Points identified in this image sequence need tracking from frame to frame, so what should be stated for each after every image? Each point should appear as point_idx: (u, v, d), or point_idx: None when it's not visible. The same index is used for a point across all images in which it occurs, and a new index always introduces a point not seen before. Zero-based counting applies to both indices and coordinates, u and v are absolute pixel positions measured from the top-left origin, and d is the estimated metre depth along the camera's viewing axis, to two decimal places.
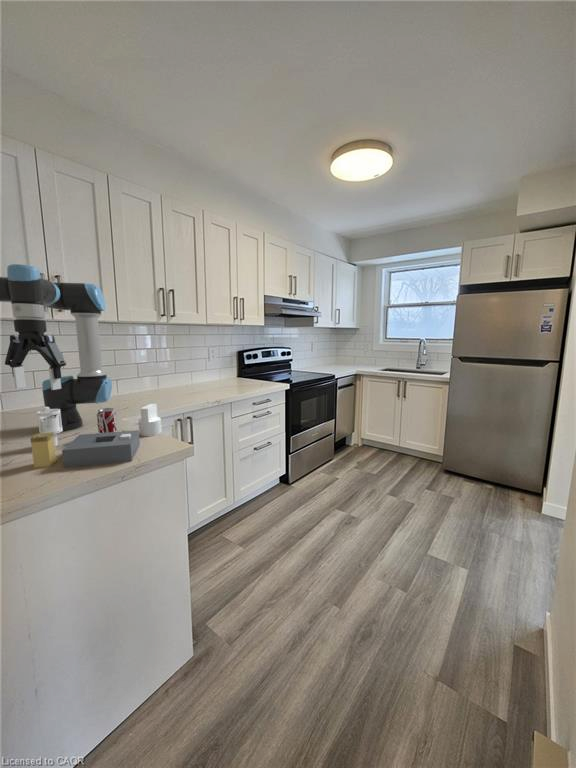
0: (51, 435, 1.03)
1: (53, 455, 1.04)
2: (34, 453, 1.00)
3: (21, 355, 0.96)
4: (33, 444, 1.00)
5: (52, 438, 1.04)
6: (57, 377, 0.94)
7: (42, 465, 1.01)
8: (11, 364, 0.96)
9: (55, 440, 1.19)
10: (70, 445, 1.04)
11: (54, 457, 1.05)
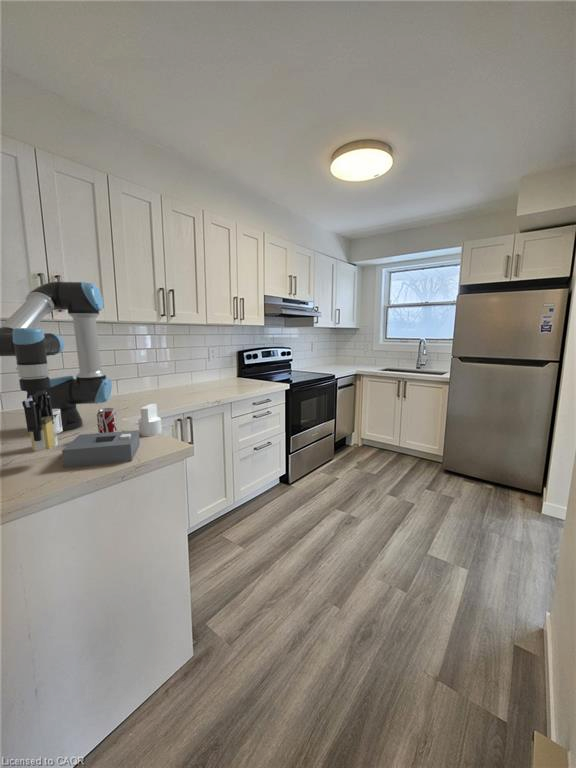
0: (49, 418, 1.03)
1: (51, 438, 1.03)
2: (32, 436, 0.99)
3: (40, 411, 1.02)
4: None
5: (50, 421, 1.03)
6: (35, 440, 0.98)
7: None
8: None
9: (55, 440, 1.19)
10: (70, 445, 1.04)
11: (53, 441, 1.04)
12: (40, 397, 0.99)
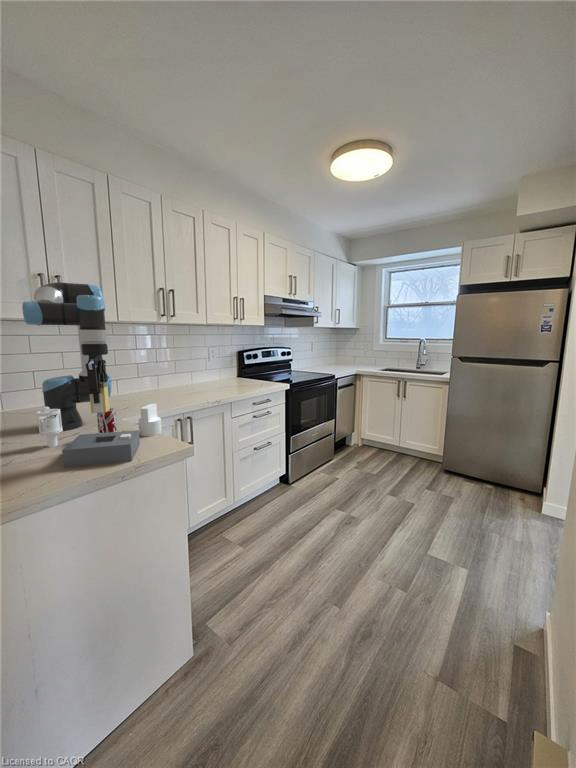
0: (106, 383, 1.08)
1: (107, 403, 1.09)
2: (91, 399, 1.05)
3: None
4: None
5: (106, 387, 1.09)
6: (94, 402, 1.04)
7: None
8: None
9: (55, 440, 1.19)
10: (70, 445, 1.04)
11: (108, 405, 1.10)
12: (99, 362, 1.04)
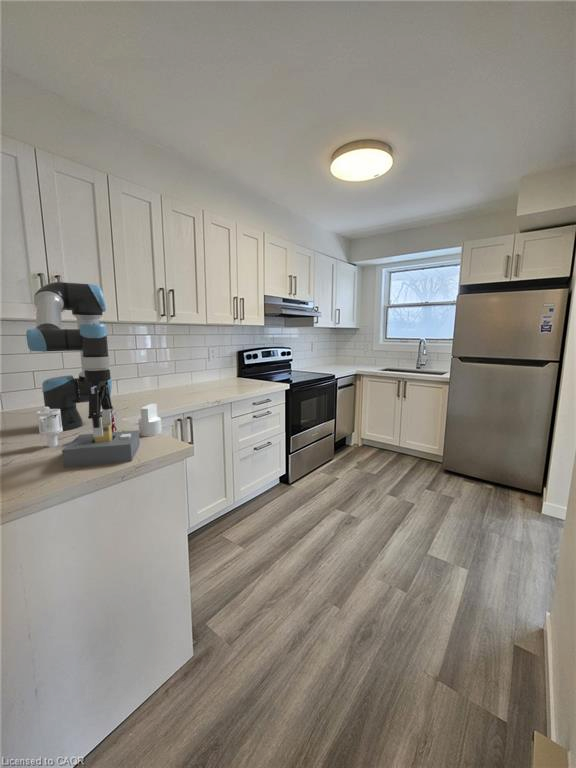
0: (110, 425, 1.11)
1: None
2: (96, 442, 1.07)
3: (101, 399, 1.11)
4: None
5: (111, 428, 1.11)
6: (94, 426, 1.02)
7: None
8: (102, 406, 1.14)
9: (55, 440, 1.19)
10: (70, 445, 1.04)
11: None
12: (102, 387, 1.06)
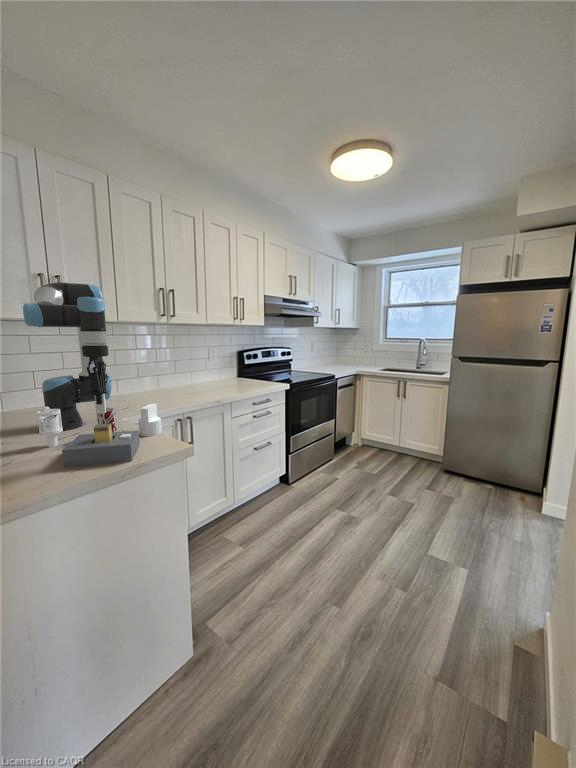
0: (110, 425, 1.11)
1: None
2: (96, 442, 1.07)
3: None
4: (96, 433, 1.07)
5: (111, 428, 1.11)
6: (97, 403, 1.06)
7: None
8: None
9: (55, 440, 1.19)
10: (70, 445, 1.04)
11: None
12: (100, 364, 1.04)
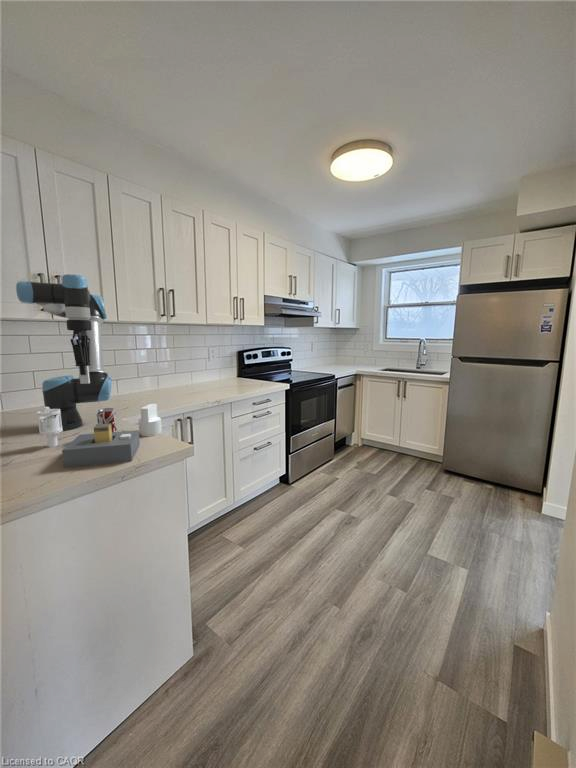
0: (110, 425, 1.11)
1: None
2: (96, 442, 1.07)
3: None
4: (96, 433, 1.07)
5: (111, 428, 1.11)
6: (81, 374, 1.15)
7: None
8: None
9: (55, 440, 1.19)
10: (70, 445, 1.04)
11: None
12: (83, 337, 1.13)
